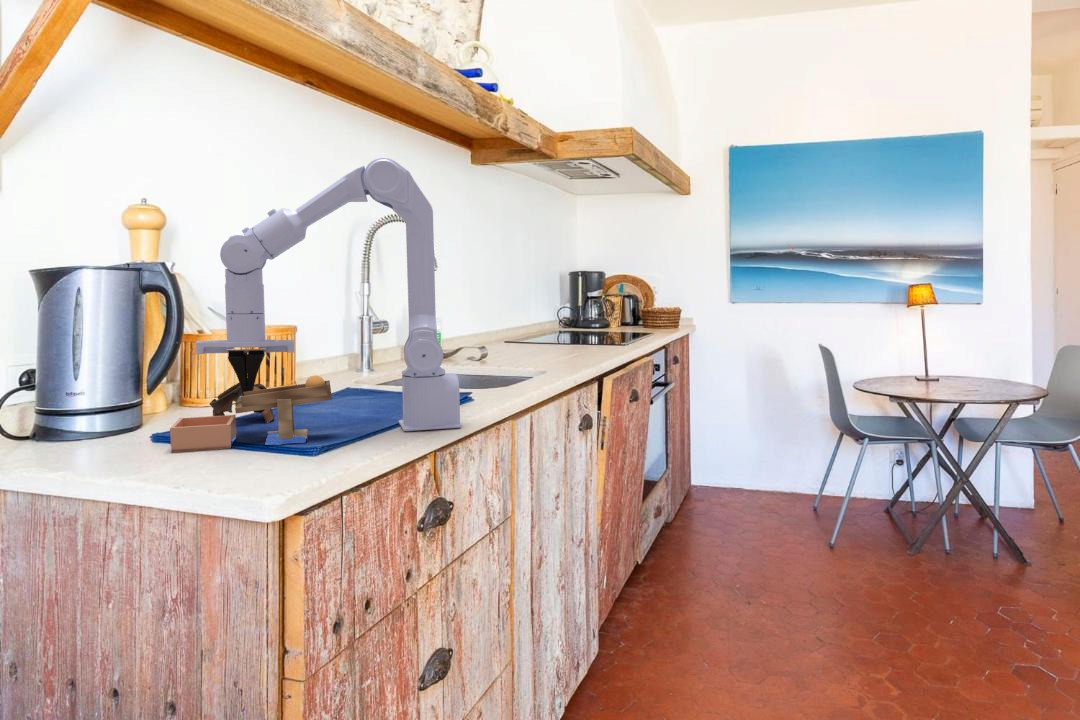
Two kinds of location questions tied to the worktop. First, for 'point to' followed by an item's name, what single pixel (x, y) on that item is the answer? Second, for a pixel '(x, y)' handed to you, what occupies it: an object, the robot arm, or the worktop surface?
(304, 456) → the worktop surface
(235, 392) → the dark brown bent piece
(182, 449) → the open cardboard tray
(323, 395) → the catapult lever
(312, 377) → the ball
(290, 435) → the fulcrum stand
